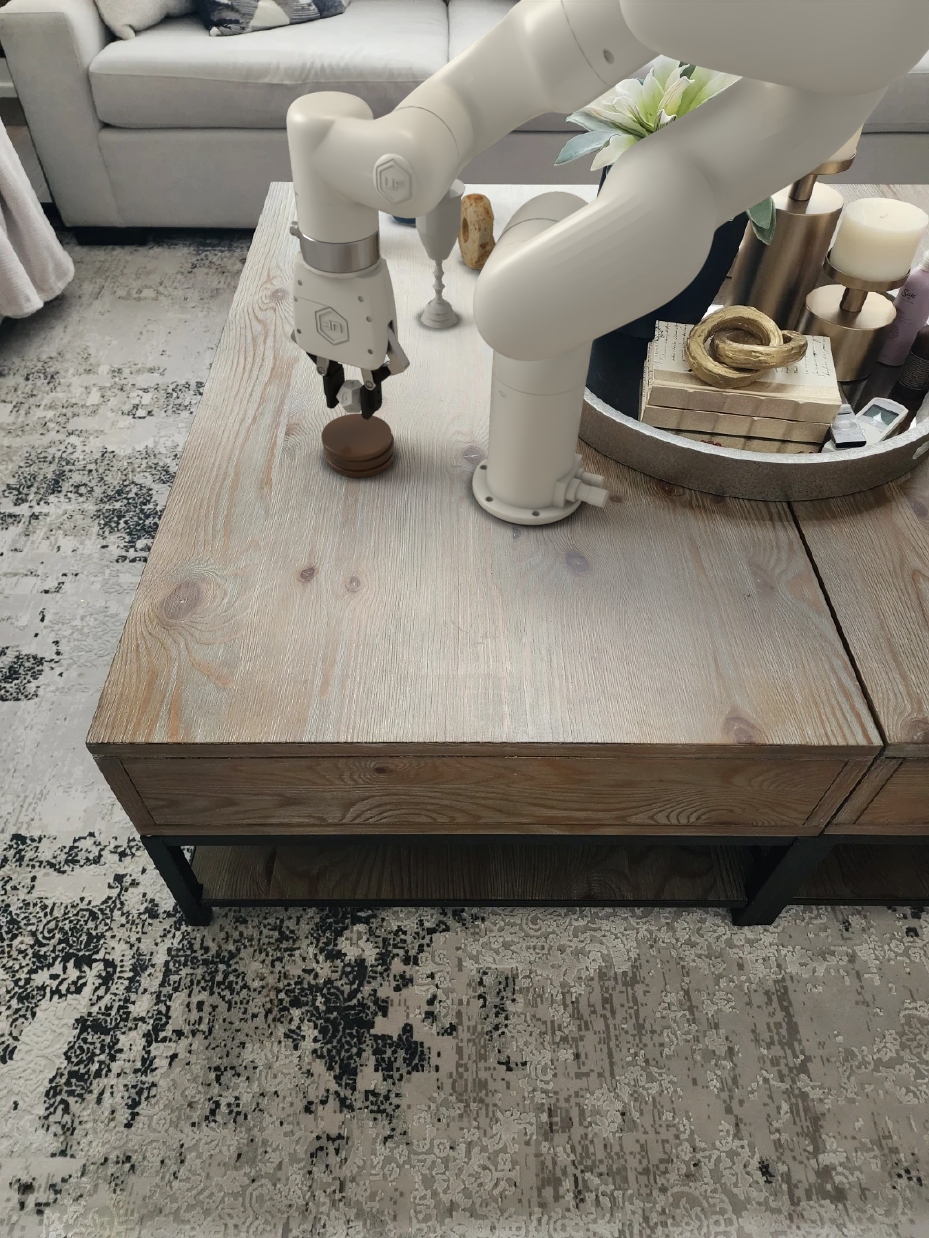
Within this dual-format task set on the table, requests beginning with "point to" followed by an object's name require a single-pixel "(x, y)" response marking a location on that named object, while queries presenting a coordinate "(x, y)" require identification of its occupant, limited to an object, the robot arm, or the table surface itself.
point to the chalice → (441, 250)
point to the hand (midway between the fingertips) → (353, 406)
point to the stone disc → (476, 230)
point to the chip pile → (358, 445)
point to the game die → (350, 396)
